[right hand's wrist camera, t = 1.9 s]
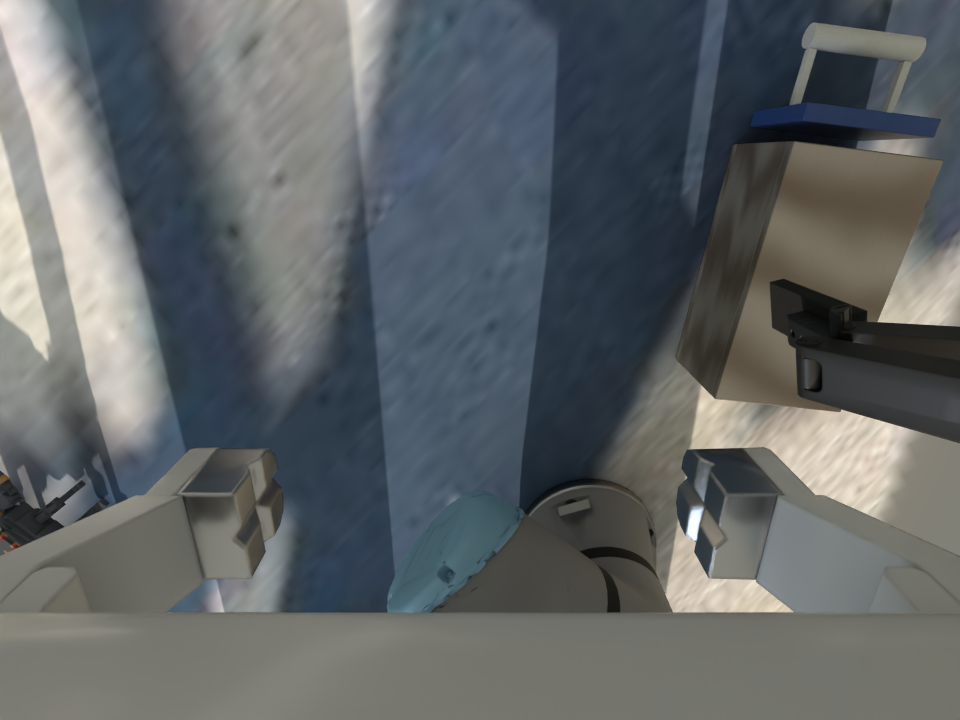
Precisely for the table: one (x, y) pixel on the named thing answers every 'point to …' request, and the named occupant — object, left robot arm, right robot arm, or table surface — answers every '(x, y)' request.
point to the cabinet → (795, 255)
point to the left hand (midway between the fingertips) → (904, 272)
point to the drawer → (850, 119)
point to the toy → (30, 516)
